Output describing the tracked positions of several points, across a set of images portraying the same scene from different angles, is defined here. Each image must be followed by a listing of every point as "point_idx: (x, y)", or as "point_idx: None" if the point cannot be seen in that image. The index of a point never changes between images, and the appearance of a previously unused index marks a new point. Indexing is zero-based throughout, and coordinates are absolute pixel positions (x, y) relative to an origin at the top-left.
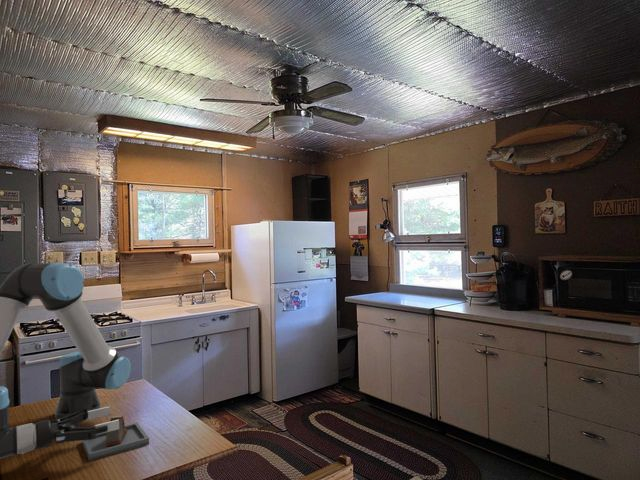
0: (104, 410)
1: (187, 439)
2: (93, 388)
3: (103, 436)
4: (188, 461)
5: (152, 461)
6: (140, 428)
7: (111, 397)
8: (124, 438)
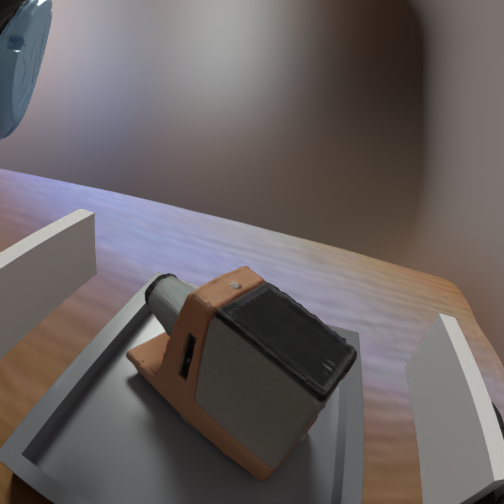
0: (66, 248)
1: (380, 292)
2: None
3: (91, 400)
4: (490, 344)
5: None
6: None
7: None
8: None
